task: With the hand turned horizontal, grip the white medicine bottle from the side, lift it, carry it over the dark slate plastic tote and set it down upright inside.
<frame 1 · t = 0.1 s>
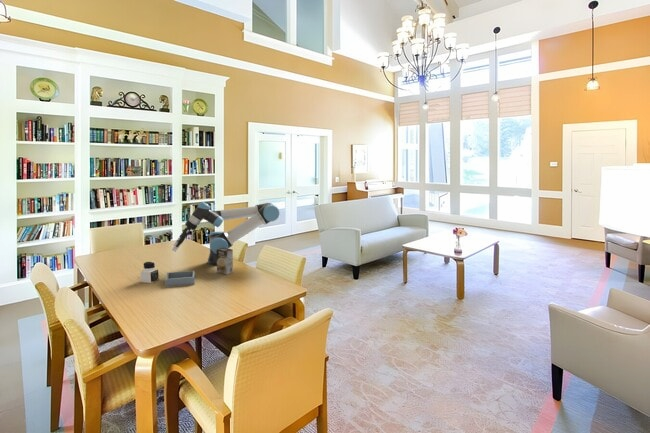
hand: (174, 248, 241), 15 cm above the table, tool tilted 35°, fingers open, 13 cm apart
tote: (180, 281, 220), on the table
medicine bottle: (150, 281, 221), on the table
coffee box: (224, 272, 241), on the table
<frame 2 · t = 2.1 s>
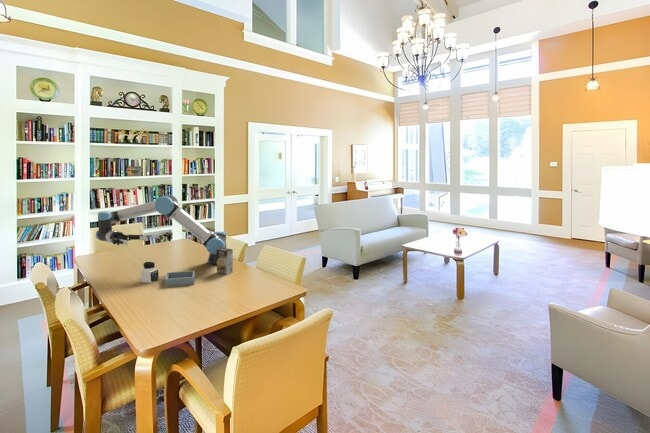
hand: (137, 240, 222), 24 cm above the table, tool horizontal, fingers open, 13 cm apart
nothing on the table moved.
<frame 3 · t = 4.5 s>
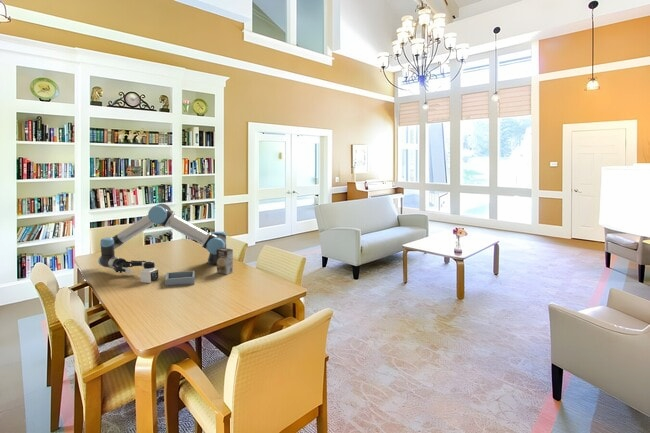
hand: (139, 268, 223), 7 cm above the table, tool horizontal, fingers open, 13 cm apart
nothing on the table moved.
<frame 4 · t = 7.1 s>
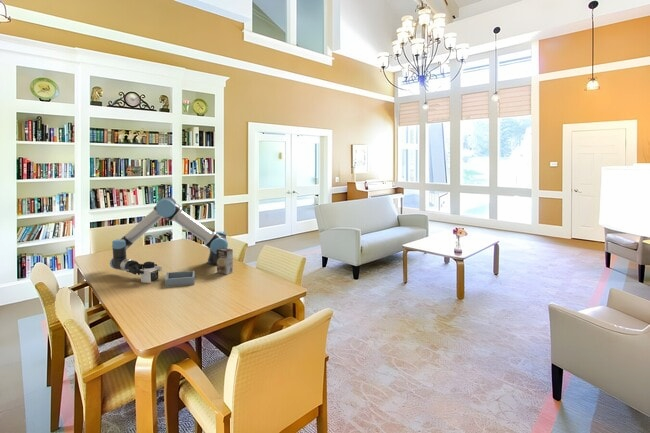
hand: (154, 271, 218), 7 cm above the table, tool horizontal, fingers closed on medicine bottle, 8 cm apart
medicine bottle: (150, 281, 221), on the table, touching gripper
everything else where it was.
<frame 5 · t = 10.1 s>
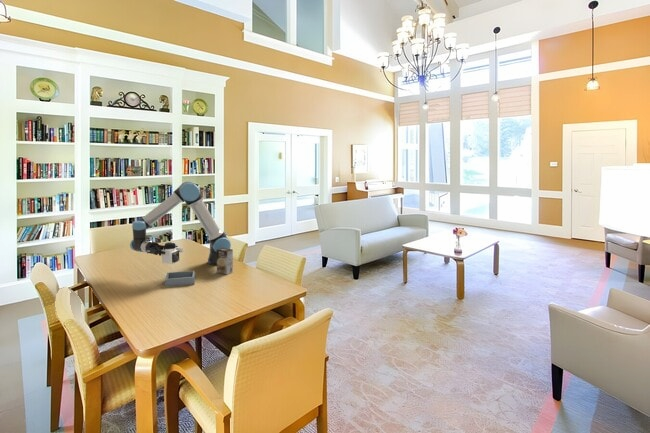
hand: (176, 251, 215), 20 cm above the table, tool horizontal, fingers closed on medicine bottle, 8 cm apart
medicine bottle: (171, 262, 218), point 12 cm above the table, touching gripper
everything else where it was.
when the fingers open (10 cm above the table, at t = 13.3 s): medicine bottle drops 2 cm, resting on tote.
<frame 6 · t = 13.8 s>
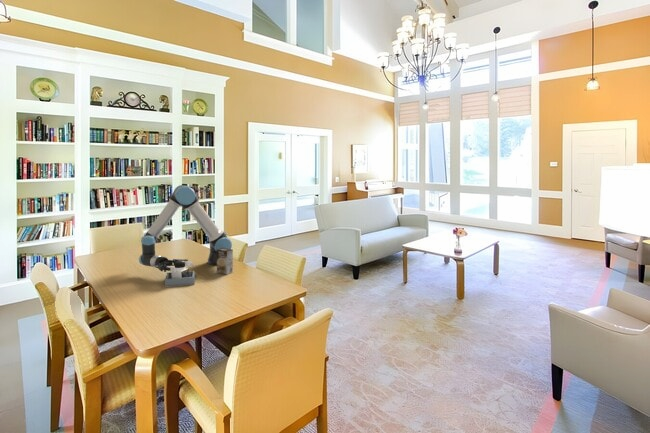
hand: (184, 267, 217), 10 cm above the table, tool horizontal, fingers open, 13 cm apart
medicine bottle: (180, 280, 220), point 1 cm above the table, touching tote
everything else where it was.
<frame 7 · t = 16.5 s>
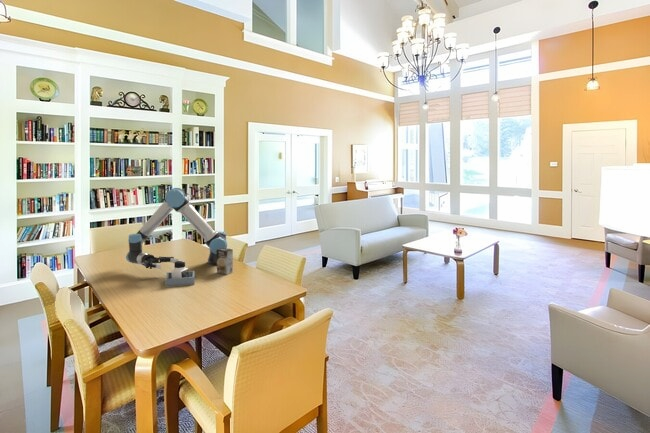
hand: (169, 264, 223), 10 cm above the table, tool horizontal, fingers open, 13 cm apart
nothing on the table moved.
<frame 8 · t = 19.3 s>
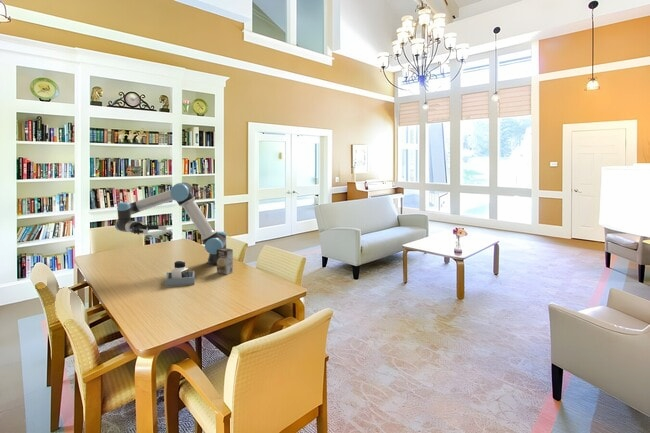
hand: (157, 230, 226), 30 cm above the table, tool horizontal, fingers open, 13 cm apart
nothing on the table moved.
at the end: medicine bottle inside the target area on the tote (0.1 cm from its centre), point 0.8 cm above the tote's base; medicine bottle tilted 0°; the gripper is holding nothing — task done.
